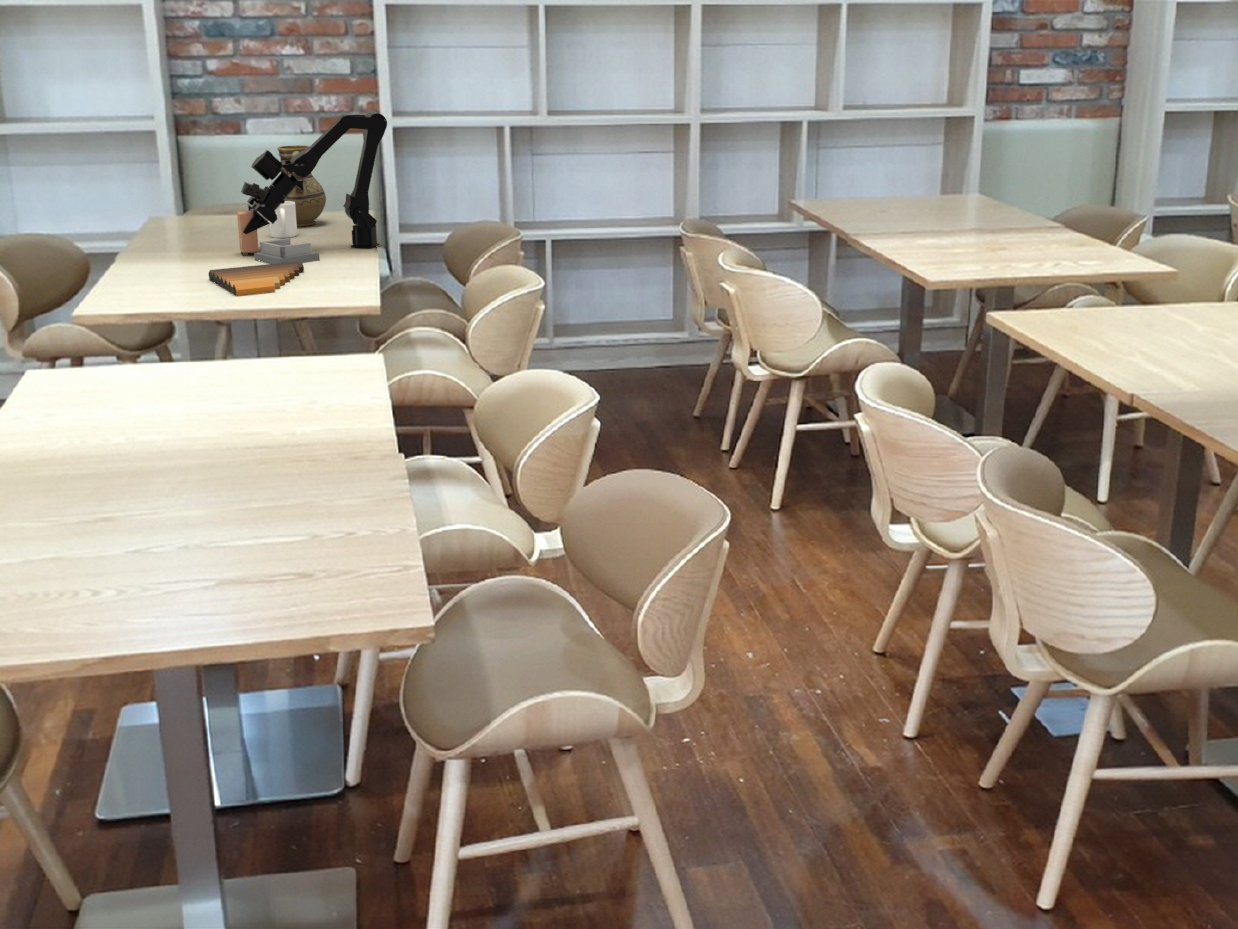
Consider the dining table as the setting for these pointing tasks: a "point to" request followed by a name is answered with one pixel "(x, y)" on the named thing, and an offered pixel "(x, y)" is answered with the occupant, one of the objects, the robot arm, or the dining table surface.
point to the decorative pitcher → (304, 191)
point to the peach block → (247, 240)
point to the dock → (285, 252)
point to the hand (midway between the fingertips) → (242, 231)
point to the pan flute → (256, 277)
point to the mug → (284, 221)
